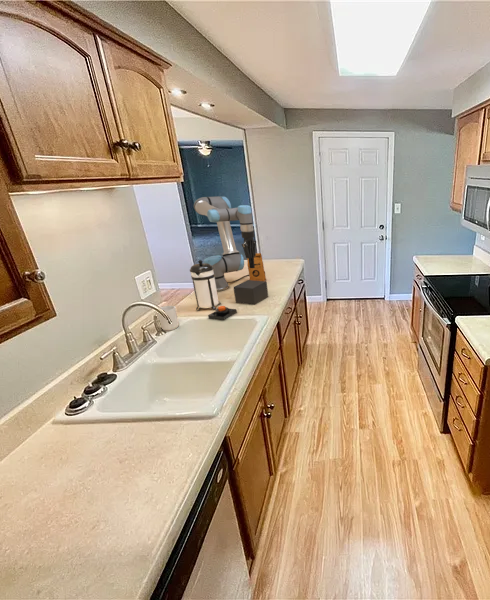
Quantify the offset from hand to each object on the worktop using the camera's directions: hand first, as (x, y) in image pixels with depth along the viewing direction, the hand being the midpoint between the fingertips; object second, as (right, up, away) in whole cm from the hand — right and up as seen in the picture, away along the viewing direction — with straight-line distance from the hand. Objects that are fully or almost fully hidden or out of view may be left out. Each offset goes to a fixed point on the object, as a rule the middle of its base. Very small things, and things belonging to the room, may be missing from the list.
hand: (252, 267), depth 213 cm
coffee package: (-11, -6, +43) cm, 45 cm away
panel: (-9, -30, -22) cm, 38 cm away
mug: (-31, -35, -35) cm, 59 cm away
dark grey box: (-1, -21, +3) cm, 21 cm away
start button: (-9, -27, -23) cm, 36 cm away
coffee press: (-24, -25, -8) cm, 36 cm away
